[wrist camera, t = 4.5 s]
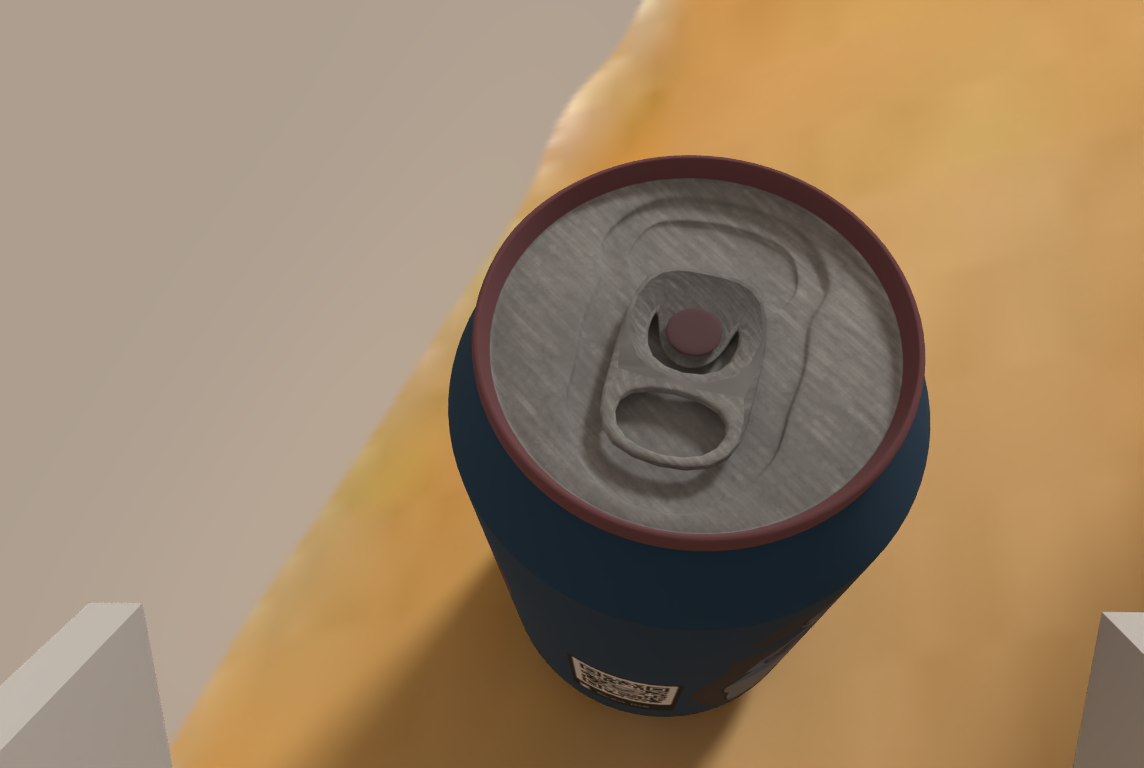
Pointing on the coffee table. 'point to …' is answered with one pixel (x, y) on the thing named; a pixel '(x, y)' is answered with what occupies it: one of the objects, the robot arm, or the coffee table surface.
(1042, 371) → the coffee table surface
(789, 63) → the coffee table surface
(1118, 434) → the coffee table surface
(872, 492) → the soda can
